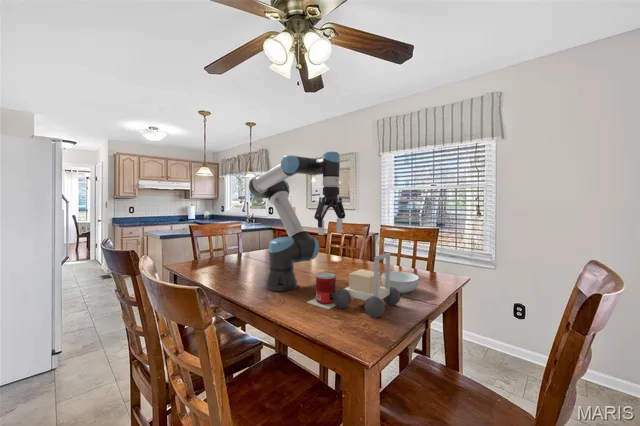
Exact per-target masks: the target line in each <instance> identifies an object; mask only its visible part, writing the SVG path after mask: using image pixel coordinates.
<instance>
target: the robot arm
mask: <svg viewBox="0 0 640 426" xmlns="http://www.w3.org/2000/svg"><path fill="white" fill-rule="evenodd" d="M340 164H341V161H340V153H339V152H337V151H324V152H323V153H322V157H320V158H313V157H304V156H298V155H289V154H287V155H284V156H283V157H282V159H280V163H279V164H278V165H276V166H274V167H273V168H271V169H269V170H268V171H266V172H264V173H261V174H257V175H255V176H253V177H252V178H251V179H250V180H249V183H248V190H249V192H250V194H251V195H253V196H254V197H255V198H258V199H268V201H269V203H270V204H271V205H273V206H274V208H275V210H276V212H277V214H278V216H279V219H280V222H281V223H282V225H283V227H284V230H285V232H286V234H287V235H288V236H281V237H277V238H273V239H271V240H270V241H269V247H268V257H269V259H268V269H269V270H268V274H267V278H266V281H265V288H266V289H267V290H269V291H273V292H288V291H293V290H294V289H296V288H298V281H297V278H296V274H295V271H294V269H295V268H294V266H295V265H294V264H296V263H301V262H302V263H303V262H308V261H311V260H315V259H316V258H317V257H318V255H319V252H320V251H319V250H320V244H319V241H318V239H317V238H316V237H313V236H311V235H310V233H309V231H308V230H304V228H303V226H302V223H301V222H300V220H299V218H298V216H297V214H296V211H295V210H294V208H293V207H292V204H291V202H290V200H289V197H290V192H291V191H290V185H289V183H288V182H287V181H286V179H288V178H290V177H292V176H295V175H297V174H298V175H299V174H302V175H308V176H320V175H322V186H323V187H322V195H323V196H324V197H323V196H321V197H320V196H319V198H318V205H317V207H316V210H315V214H314V216H313V217H314V219H315V220H316V221H317V228H318V229H317V231H318V236H325V220H324V218H325V216H326V214H327V212H328V210H329V209H330V208H332V209H333V210H334V212H335V215H336V217H337V218H336V233H343V220H344V219H345V218H346V213H345V208H344V205H343V199H342V197H338V196H339V195H340V167H341V166H340Z"/></svg>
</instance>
